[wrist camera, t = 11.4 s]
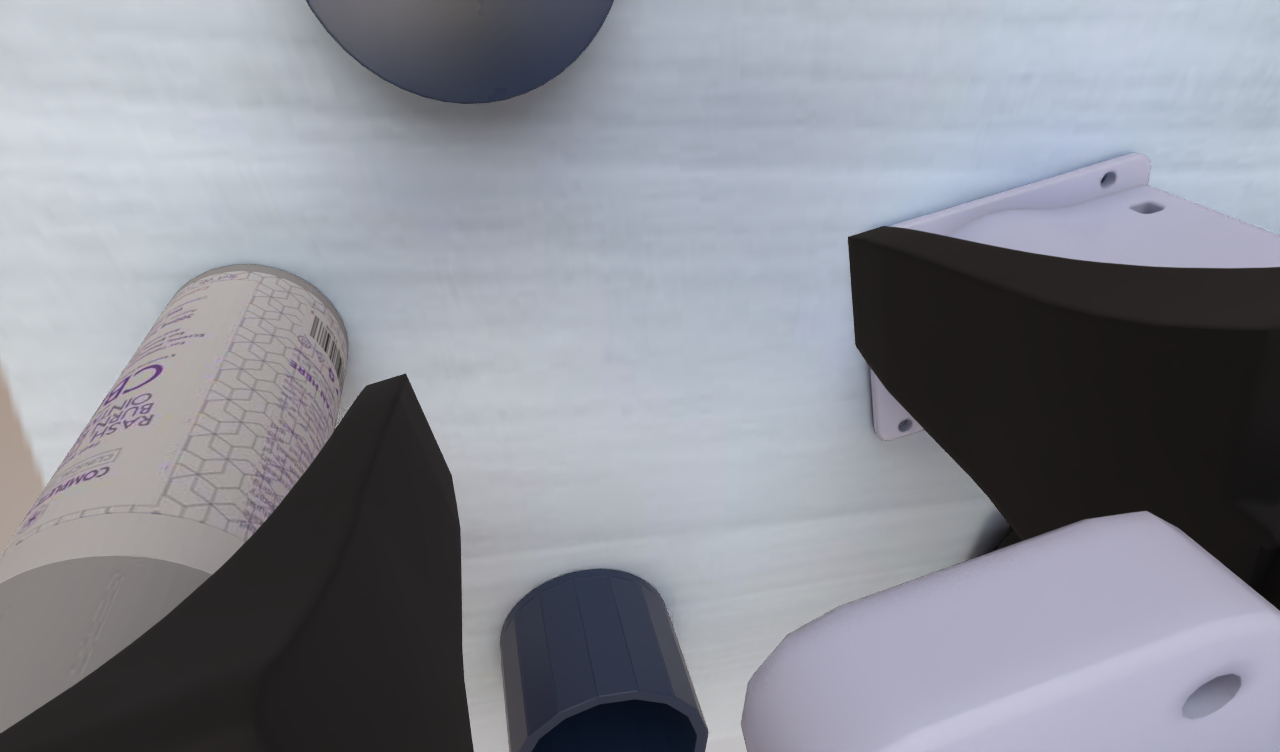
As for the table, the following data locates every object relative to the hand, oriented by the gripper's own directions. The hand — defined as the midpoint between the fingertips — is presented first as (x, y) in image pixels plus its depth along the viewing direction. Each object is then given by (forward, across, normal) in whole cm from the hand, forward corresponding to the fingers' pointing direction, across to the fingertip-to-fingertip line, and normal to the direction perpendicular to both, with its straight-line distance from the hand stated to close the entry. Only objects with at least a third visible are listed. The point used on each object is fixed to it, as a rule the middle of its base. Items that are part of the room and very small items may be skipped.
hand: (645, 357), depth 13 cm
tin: (+10, +4, +17) cm, 20 cm away
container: (+11, +9, +2) cm, 14 cm away
